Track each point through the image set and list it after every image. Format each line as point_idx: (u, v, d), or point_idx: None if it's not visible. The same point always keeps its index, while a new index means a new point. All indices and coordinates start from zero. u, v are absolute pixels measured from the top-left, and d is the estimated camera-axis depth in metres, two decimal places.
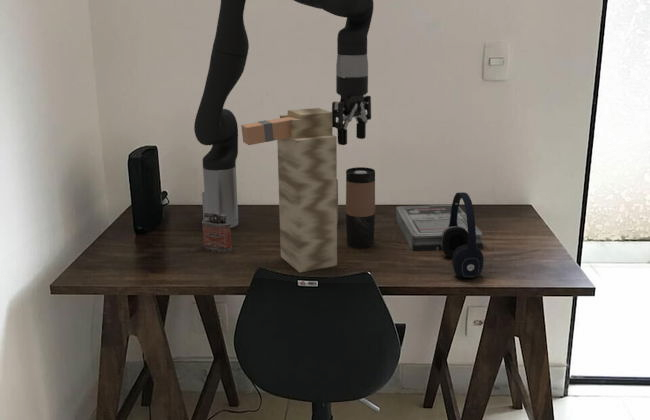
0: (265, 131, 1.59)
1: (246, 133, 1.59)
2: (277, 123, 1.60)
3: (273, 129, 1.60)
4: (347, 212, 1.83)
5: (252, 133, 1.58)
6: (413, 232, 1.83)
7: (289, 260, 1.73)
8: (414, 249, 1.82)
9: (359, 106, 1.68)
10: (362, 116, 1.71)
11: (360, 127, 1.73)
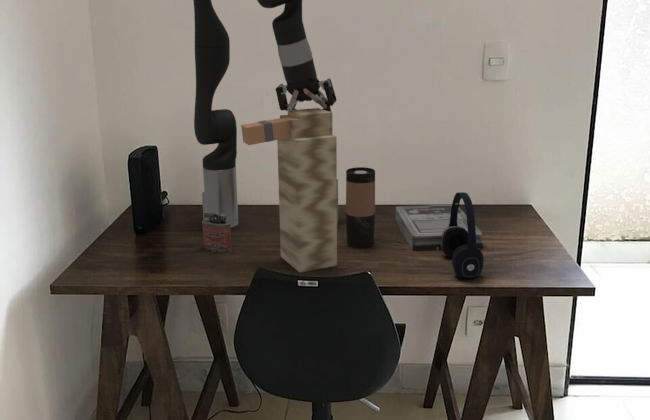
0: (265, 131, 1.59)
1: (246, 133, 1.59)
2: (277, 123, 1.60)
3: (273, 129, 1.60)
4: (347, 212, 1.83)
5: (252, 133, 1.58)
6: (413, 233, 1.83)
7: (289, 260, 1.73)
8: (414, 249, 1.82)
9: None
10: (298, 100, 1.72)
11: None
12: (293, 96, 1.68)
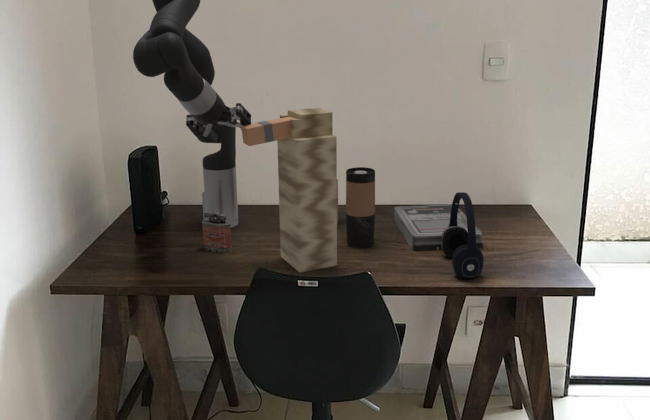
0: (265, 132, 1.59)
1: (246, 134, 1.59)
2: (277, 123, 1.60)
3: (272, 130, 1.60)
4: (347, 212, 1.83)
5: (252, 134, 1.58)
6: (413, 233, 1.83)
7: (289, 260, 1.73)
8: (414, 249, 1.81)
9: None
10: None
11: (212, 133, 1.67)
12: (207, 127, 1.61)
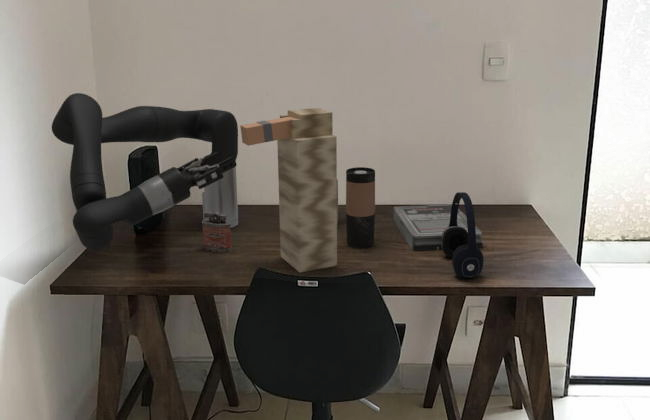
0: (264, 132, 1.59)
1: (245, 133, 1.58)
2: (276, 123, 1.60)
3: (272, 130, 1.60)
4: (347, 212, 1.83)
5: (251, 133, 1.58)
6: (413, 232, 1.83)
7: (289, 260, 1.73)
8: (414, 249, 1.81)
9: (190, 168, 1.56)
10: (198, 163, 1.59)
11: (210, 161, 1.61)
12: None
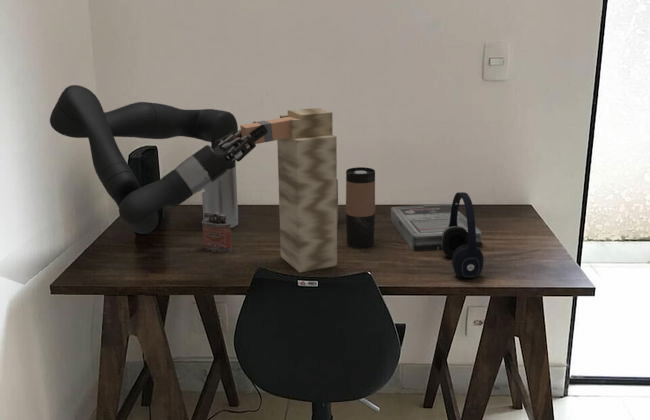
0: None
1: (245, 133, 1.58)
2: (276, 123, 1.60)
3: (272, 130, 1.60)
4: (347, 212, 1.83)
5: None
6: (413, 233, 1.83)
7: (289, 260, 1.73)
8: (415, 249, 1.81)
9: (223, 144, 1.59)
10: (234, 136, 1.60)
11: None
12: None
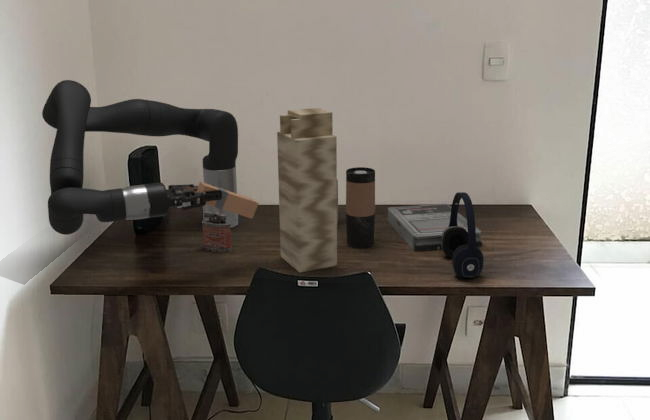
0: None
1: (201, 190, 1.60)
2: (233, 195, 1.63)
3: (226, 199, 1.63)
4: (347, 212, 1.83)
5: None
6: (413, 233, 1.83)
7: (289, 260, 1.73)
8: (416, 249, 1.81)
9: (176, 189, 1.60)
10: (189, 188, 1.62)
11: None
12: None
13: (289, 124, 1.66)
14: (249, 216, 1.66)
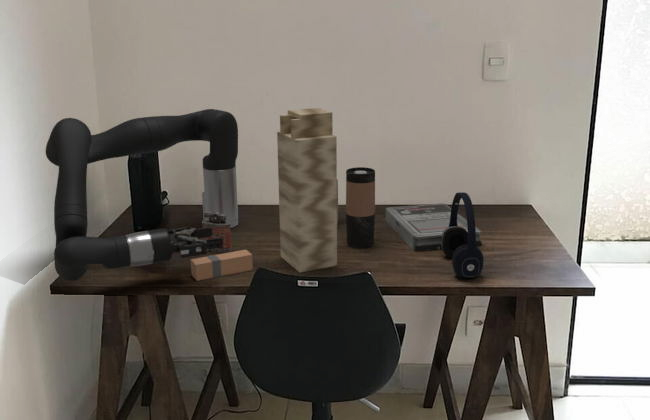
0: (213, 268, 1.65)
1: (194, 269, 1.64)
2: (225, 260, 1.66)
3: (221, 266, 1.66)
4: (347, 212, 1.83)
5: (200, 270, 1.64)
6: (414, 233, 1.83)
7: (289, 260, 1.73)
8: (416, 250, 1.81)
9: (179, 234, 1.63)
10: (189, 232, 1.66)
11: (200, 233, 1.68)
12: None
13: (289, 124, 1.66)
14: (249, 269, 1.70)
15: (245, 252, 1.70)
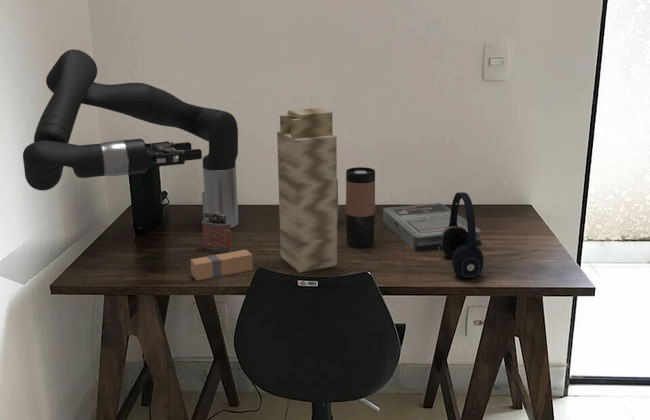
0: (213, 268, 1.65)
1: (194, 269, 1.64)
2: (225, 260, 1.66)
3: (221, 266, 1.66)
4: (347, 212, 1.83)
5: (200, 270, 1.64)
6: (414, 233, 1.82)
7: (289, 260, 1.73)
8: (417, 250, 1.81)
9: (157, 146, 1.56)
10: (167, 145, 1.59)
11: (179, 148, 1.62)
12: None
13: (289, 124, 1.66)
14: (249, 269, 1.70)
15: (245, 252, 1.70)
